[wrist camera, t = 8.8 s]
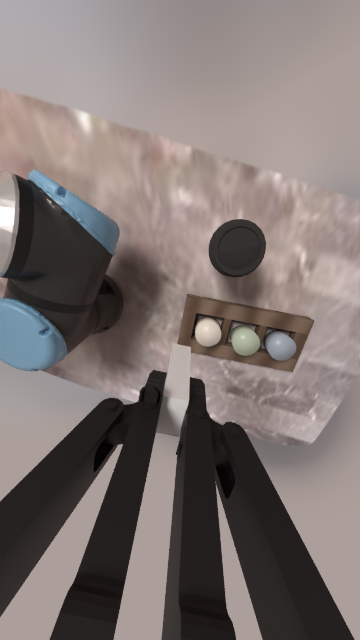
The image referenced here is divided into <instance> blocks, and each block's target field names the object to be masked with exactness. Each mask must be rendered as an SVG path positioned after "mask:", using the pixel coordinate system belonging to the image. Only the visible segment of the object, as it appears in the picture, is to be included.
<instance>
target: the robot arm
mask: <svg viewBox="0 0 360 640" xmlns="http://www.w3.org/2000/svg"><path fill="white" fill-rule="evenodd" d="M28 179H29V180H26V179H24V178H22V177H20V176H18V175H15V174H13V173H11V172H9V171H5V172H2V173H0V277H3V278H8V281H7V286H6V290H5V294H4V296H3V297H1V298H0V360H2V361H3V362H5V363H6V364H8V365H10V366H12V367H15V368H17V369H21V370H26V371H38V370H44V369H47V368H49V367H51V366H52V365H54V364H55V363H57V362H59V361H61V360H62V359H63V358H64V357H65V356H66V355H67V354H68V353H69V352H70V351H72V350H73V349H74V348H75V347H76V346H78V345H79V344H80V343H81V342H82V341H83V340H85V339H86V338H87V337H88V336H89V335H91V334H97V333H101V332H104V331H106V330H108V329H109V328H111V327H112V326H113V325H114V324H115V323H116V322H117V321H118V319H119V318H120V316H121V313H122V309H123V300H122V295H121V293H120V290H119V288H118V287H117V285H116V284H115V282H114V281H113V280H112V279H111V278H110V277H109V276H107V275H106V272H107V269H108V266H109V264H110V261H111V258H112V256H114V255H115V253H114V250H115V247H116V244H117V241H118V238H119V233H120V232H119V227H118V225H117V223H116V222H115V221H114V220H113V219H111V218H110V217H108V216H107V215H105V214H104V213H102V212H101V211H99V210H98V209H96V208H95V207H93V206H91V205H90V204H88V203H87V202H85V201H84V200H82V199H81V198H79V197H78V196H76V195H75V194H73V193H71V192H70V191H68V190H67V189H65V188H64V187H62V186H61V185H59V184H58V183H56V182H55V181H53V180H52V179H50V178H49V177H47V176H46V175H44V174H43V173H41V172H40V171H38V170H35V169H34V170H32V171H31V173H29V174H28ZM190 359H191V347H188V346H184V345H179V344H173V349H172V354H171V358H170V363H169V368H168V372H167V373H165V372H160V371H156V370H154V371H152V372H151V373H150V374H149V377H148V380H147V383H146V386H144V387H143V388H142V389H141V390H140V395H139V401H138V402H136V403H134V404H129V405H123V403H122V401H120V400H119V399H116V398H108V399H105V400H103V401H102V402H100V403H99V404H98V405H97V406H96V407H95V408H94V409H93V410H92V411H91V412H90V413H89V414H88V415H87V416H86V417H85V418H84V419H83V420H82V421H81V422H80V423H79V424H78V425H77V426H76V427H75V428H74V429H73V430H72V431H71V432H70V433H69V434H68V435H67V436H66V437H65V438H64V439H63V440H62V441H61V442H60V443H59V444H58V445H57V446H56V447H55V448H54V449H53V450H52V451H51V452H50V453H49V454H48V455H47V456H46V457H45V458H44V459H43V460H42V461H41V462H40V463H39V464H38V465H37V466H36V467H35V468H34V469H33V470H32V471H31V472H30V473H29V474H28V475H27V476H26V477H25V478H24V479H23V480H21V481H20V482H19V484H17V485H16V486H15V487H14V489H12V490H11V491H10V492H9V493H8V494H7V495H6V496H5V497H4V498H3V499H2V500H1V501H0V617H1V615H2V614H3V612H4V611H5V609H6V608H7V606H8V605H9V603H10V602H11V600H12V599H13V598H14V596H15V595H16V593H17V592H18V590H19V589H20V587H21V586H22V584H23V583H24V582H25V580H26V579H27V577H28V576H29V574H30V573H31V571H32V570H33V568H34V567H35V566H36V564H37V563H38V561H39V560H40V558H41V557H42V555H43V554H44V552H45V551H46V550H47V548H48V547H49V545H50V544H51V542H52V541H53V539H54V538H55V536H56V535H57V533H58V532H59V531H60V529H61V527H62V526H63V525H64V523H65V522H66V520H67V519H68V517H69V516H70V515H71V513H72V512H73V510H74V509H75V507H76V506H77V504H78V503H79V501H80V500H81V499H82V497H83V496H84V494H85V493H86V491H87V490H88V488H89V487H90V485H91V484H92V482H93V481H94V479H95V478H96V477H97V475H98V474H99V472H100V471H101V469H102V468H103V466H104V465H105V463H106V462H107V461H108V459H109V457H110V456H111V455H112V453H113V452H114V450H115V449H116V447H117V446H118V444H123V447H122V449H121V452H120V455H119V458H118V460H117V463H116V466H115V469H114V472H113V474H112V477H111V480H110V483H109V486H108V489H107V491H106V494H105V497H104V500H103V503H102V505H101V508H100V511H99V514H98V517H97V519H96V522H95V525H94V528H93V531H92V533H91V536H90V539H89V542H88V545H87V547H86V550H85V553H84V556H83V559H82V562H81V564H80V567H79V570H78V572H77V575H76V578H75V580H74V582H73V584H72V586H71V587H70V589H69V591H68V593H67V596H66V598H65V600H64V603H63V605H62V608H61V610H60V613H59V616H58V618H57V621H56V624H55V626H54V630H53V632H52V635H51V637H50V640H113V639H114V634H115V628H116V624H117V619H118V614H119V609H120V604H121V599H122V594H123V589H124V584H125V579H126V574H127V570H128V565H129V560H130V555H131V550H132V545H133V540H134V536H135V531H136V526H137V521H138V516H139V511H140V506H141V501H142V496H143V491H144V486H145V482H146V477H147V472H148V467H149V462H150V458H151V453H152V448H153V443H154V438H155V433H156V432H158V433H163V434H167V435H172V436H177V437H179V436H180V441H179V444H178V449H177V452H176V455H177V466H176V478H175V490H174V501H173V513H172V525H171V537H170V549H169V560H168V573H167V584H166V595H165V608H164V620H163V631H162V640H236V636H235V631H234V627H233V623H232V621H231V619H230V617H229V615H228V612H227V609H226V599H225V588H224V576H223V564H222V553H221V541H220V529H219V518H218V507H217V495H216V484H217V488H218V491H219V494H220V498H221V501H222V504H223V508H224V511H225V514H226V518H227V521H228V524H229V528H230V531H231V535H232V538H233V541H234V545H235V548H236V551H237V554H238V558H239V561H240V565H241V568H242V571H243V575H244V578H245V581H246V585H247V588H248V592H249V595H250V598H251V601H252V604H253V608H254V612H255V615H256V618H257V622H258V625H259V628H260V632H261V635H262V638H263V640H354V638H353V636H352V634H351V632H350V630H349V628H348V627H347V625H346V623H345V621H344V619H343V617H342V615H341V613H340V611H339V610H338V607H337V606H336V604H335V602H334V600H333V598H332V596H331V594H330V592H329V591H328V588H327V587H326V585H325V583H324V581H323V579H322V577H321V575H320V573H319V571H318V569H317V567H316V566H315V564H314V562H313V560H312V558H311V556H310V554H309V552H308V550H307V548H306V547H305V545H304V543H303V541H302V539H301V537H300V535H299V533H298V531H297V530H296V528H295V526H294V524H293V522H292V520H291V518H290V516H289V514H288V512H287V511H286V509H285V506H284V505H283V503H282V501H281V499H280V497H279V495H278V493H277V491H276V489H275V487H274V485H273V484H272V482H271V480H270V478H269V476H268V474H267V472H266V470H265V468H264V466H263V464H262V463H261V461H260V459H259V457H258V455H257V453H256V451H255V449H254V447H253V445H252V444H251V442H250V440H249V438H248V436H247V434H246V432H245V431H244V429H243V428H242V427H241V426H239V425H238V424H236V423H233V422H226V423H225V424H224V425H221V424H219V423H217V422H215V421H213V420H212V419H211V418H210V416H209V413H208V412H207V410H206V396H205V385H204V383H203V381H202V380H200V379H196V378H191V377H190ZM215 481H216V483H215Z"/></svg>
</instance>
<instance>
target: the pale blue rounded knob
mask: <svg viewBox="0 0 360 640" xmlns="http://www.w3.org/2000/svg"><path fill="white" fill-rule="evenodd" d="M264 346H265V348H266V349H267V351H268V352H269V354H270V355H271V357H272V358H274V359H275V360H279V361H283V360H287V359H289V358H291V357H292V356H293V355H294V354H295V352H296V344H295V342H294V341H293V340H292V339H291V338H290V337H289V336H288V335H287V334H286V333H285V332H283V331H281V330H274V331H271V332H269V333H268V334H267V335H266V336H265V338H264Z"/></svg>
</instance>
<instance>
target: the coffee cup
mask: <svg viewBox="0 0 360 640" xmlns="http://www.w3.org/2000/svg"><path fill="white" fill-rule="evenodd" d="M265 251H266V241H265V237H264V234H263V233H262V231H261V229H260V228H259V227H258V226H257V225H256V224H255V223H253V222H251V221H249V220H243V219H237V220H231V221H228V222H226V223H224V224H223V225H221V226H220V227H219V228H218V229H217V230H216V231H215V233H214V234H213V236H212V238H211V240H210V244H209V257H210V260H211V263H212V265H213V266H214V268H215V269H216V270H217V271H218V272H220V273H221V274H223V275H225V276H230V277H241V276H244V275H247V274H249V273H251V272H252V271H254V270H255V269H256V268H257V267H258V266H259V265H260V263H261V261H262V259H263V258H264V254H265Z"/></svg>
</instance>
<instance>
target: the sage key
mask: <svg viewBox="0 0 360 640" xmlns="http://www.w3.org/2000/svg"><path fill="white" fill-rule="evenodd" d="M230 340H231V343H232V345H233V348H234V350H235V351H236V352H237V353H238V354H240V355H243V356H248V355H252V354H254V353H255V352H256V351H257V350H258V349H259V347H260V339H259V337H258V336H257V334H256V333H255V332H254V330H253V329H252V328H251V327H250V326H248V325H239V326H237V327H235V328H234V329H233V330H232V331H231V334H230Z"/></svg>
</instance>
